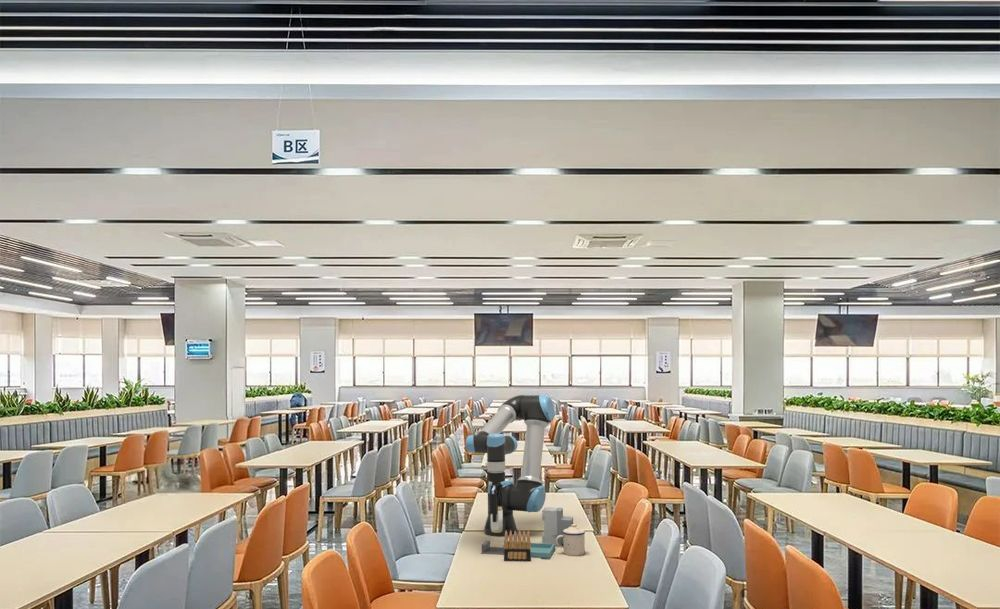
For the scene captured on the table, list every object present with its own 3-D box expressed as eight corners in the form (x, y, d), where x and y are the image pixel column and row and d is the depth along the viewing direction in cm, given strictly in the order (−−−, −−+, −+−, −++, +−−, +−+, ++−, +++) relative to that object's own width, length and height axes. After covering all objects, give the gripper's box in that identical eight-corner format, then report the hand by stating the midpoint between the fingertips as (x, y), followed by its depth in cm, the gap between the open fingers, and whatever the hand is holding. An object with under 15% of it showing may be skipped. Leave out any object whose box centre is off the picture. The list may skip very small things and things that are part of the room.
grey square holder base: (487, 547, 317) (487, 539, 317) (512, 548, 315) (512, 540, 315) (480, 554, 305) (480, 545, 306) (506, 555, 303) (506, 547, 303)
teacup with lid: (583, 550, 312) (583, 521, 312) (586, 555, 302) (586, 526, 303) (554, 550, 311) (554, 522, 312) (557, 556, 302) (556, 526, 303)
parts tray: (518, 548, 316) (518, 542, 316) (555, 549, 313) (555, 543, 313) (511, 557, 301) (510, 551, 301) (549, 559, 297) (549, 553, 298)
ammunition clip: (531, 561, 295) (530, 530, 296) (530, 562, 293) (530, 531, 294) (504, 560, 296) (503, 529, 297) (503, 562, 294) (503, 530, 295)
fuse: (492, 529, 314) (492, 505, 315) (503, 530, 313) (503, 505, 314) (489, 532, 309) (489, 507, 310) (501, 533, 308) (501, 508, 309)
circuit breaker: (575, 547, 316) (575, 511, 318) (542, 546, 319) (541, 510, 320) (577, 543, 324) (576, 508, 325) (544, 542, 327) (544, 507, 328)
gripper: (492, 468, 322) (492, 523, 321) (482, 474, 305) (482, 532, 303) (509, 468, 321) (509, 523, 319) (500, 475, 303) (500, 533, 301)
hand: (496, 528), depth 311 cm, fingers closed on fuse, 5 cm apart
